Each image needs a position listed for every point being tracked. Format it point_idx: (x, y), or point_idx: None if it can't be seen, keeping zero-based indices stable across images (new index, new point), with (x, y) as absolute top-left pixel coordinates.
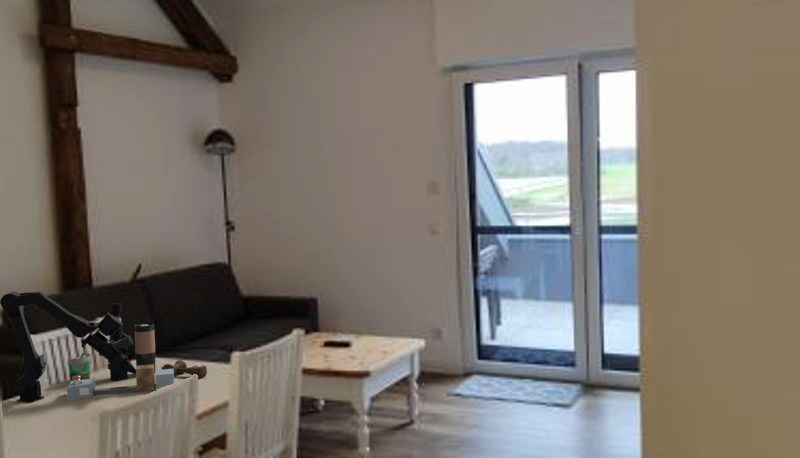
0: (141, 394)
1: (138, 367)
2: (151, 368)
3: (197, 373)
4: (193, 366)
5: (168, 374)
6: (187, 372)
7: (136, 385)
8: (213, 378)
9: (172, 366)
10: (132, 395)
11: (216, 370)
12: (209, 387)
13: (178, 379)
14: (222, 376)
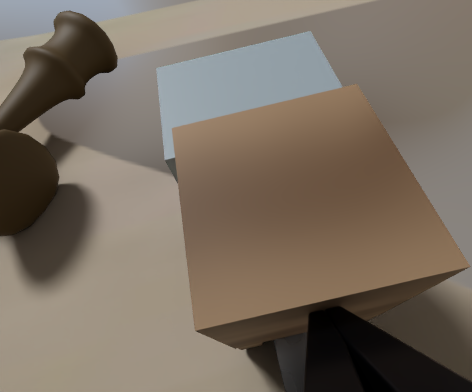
0: None
1: (326, 267)
2: (362, 100)
3: (97, 60)
4: (46, 49)
5: (320, 53)
6: (50, 103)
7: (281, 348)
8: (134, 35)
9: (5, 132)
10: (463, 332)
11: (6, 56)
12: (274, 13)
13: (92, 150)
14: (115, 19)
